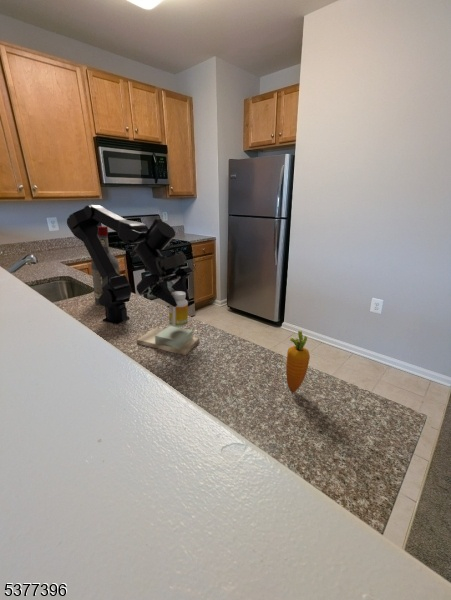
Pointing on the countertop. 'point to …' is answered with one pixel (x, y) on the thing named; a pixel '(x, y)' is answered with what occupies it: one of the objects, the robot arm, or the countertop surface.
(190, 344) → the column base
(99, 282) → the liquor
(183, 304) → the supplement bottle
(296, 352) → the carrot
